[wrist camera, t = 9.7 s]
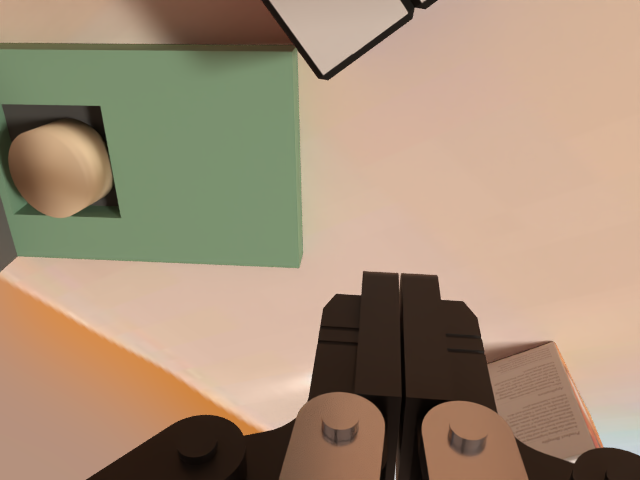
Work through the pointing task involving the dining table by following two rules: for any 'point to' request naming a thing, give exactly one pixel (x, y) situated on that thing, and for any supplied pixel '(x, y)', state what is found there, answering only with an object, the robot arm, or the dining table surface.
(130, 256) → the green flat block
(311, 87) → the dining table surface
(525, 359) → the small box
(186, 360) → the dining table surface
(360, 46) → the puzzle cube
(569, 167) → the dining table surface
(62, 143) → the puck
